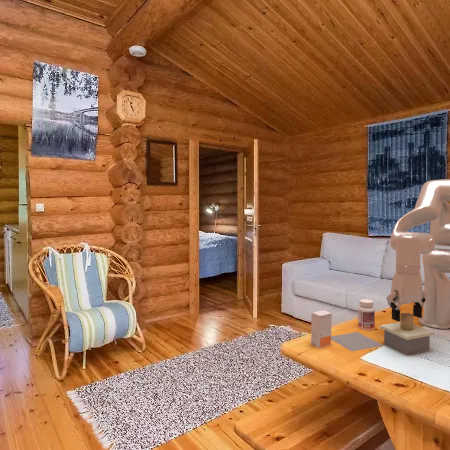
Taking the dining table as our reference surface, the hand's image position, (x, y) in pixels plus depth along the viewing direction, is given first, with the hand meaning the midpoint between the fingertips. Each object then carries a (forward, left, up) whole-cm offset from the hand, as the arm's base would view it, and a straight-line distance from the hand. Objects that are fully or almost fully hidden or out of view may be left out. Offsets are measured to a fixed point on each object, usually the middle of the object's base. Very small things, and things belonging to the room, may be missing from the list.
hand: (406, 318), depth 125 cm
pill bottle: (-1, -21, -11) cm, 24 cm away
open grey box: (0, 0, -11) cm, 11 cm away
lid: (0, 0, -5) cm, 5 cm away
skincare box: (+26, -13, -11) cm, 31 cm away
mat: (+13, -11, -11) cm, 20 cm away
